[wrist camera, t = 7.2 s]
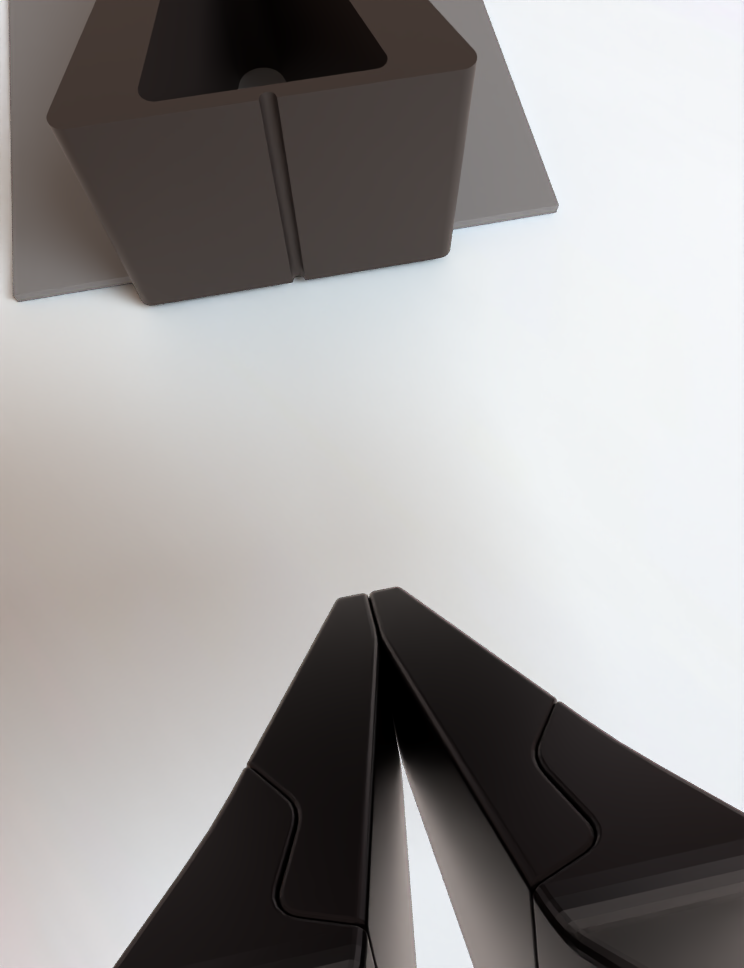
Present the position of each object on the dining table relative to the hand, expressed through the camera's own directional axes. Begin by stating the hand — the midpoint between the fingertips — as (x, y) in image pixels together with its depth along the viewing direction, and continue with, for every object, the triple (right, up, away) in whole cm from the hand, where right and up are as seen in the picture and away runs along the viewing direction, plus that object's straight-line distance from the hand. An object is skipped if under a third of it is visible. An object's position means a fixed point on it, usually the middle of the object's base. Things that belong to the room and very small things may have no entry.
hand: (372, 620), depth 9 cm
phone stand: (-2, +8, +8) cm, 12 cm away
